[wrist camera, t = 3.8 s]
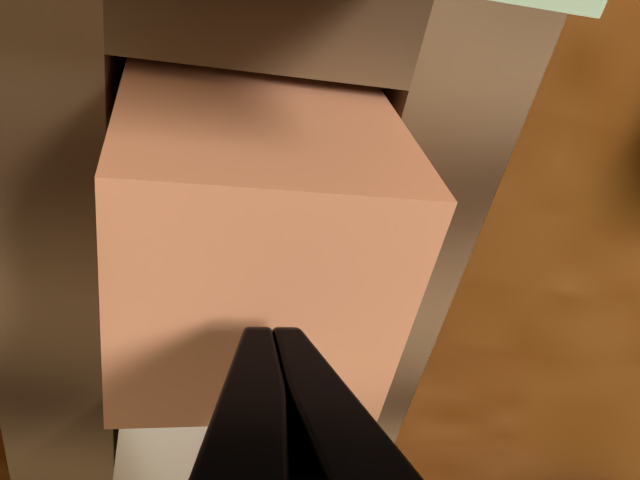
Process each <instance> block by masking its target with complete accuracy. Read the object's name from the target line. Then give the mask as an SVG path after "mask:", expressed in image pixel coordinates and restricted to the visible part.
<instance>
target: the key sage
mask: <svg viewBox="0 0 640 480" xmlns="http://www.w3.org/2000/svg"><path fill="white" fill-rule="evenodd" d="M490 1H496V2H502V3H508V4H514V5H520V6H526V7H532V8H538V9H544V10H550V11H556V12H562V13H568V14H574V15H580V16H586V17H592V18H598V19H600V17H601V14H602V12H603V10H604V7H605V5H606V3H607V0H490Z"/></svg>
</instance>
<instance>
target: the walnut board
mask: <svg viewBox="0 0 640 480" xmlns="http://www.w3.org/2000/svg"><path fill="white" fill-rule="evenodd" d="M567 16H568V13H562V12H556V11H550V10H544V9H538V8H532V7H526V6H520V5H514V4H508V3H502V2H496V1H490V0H0V428H1V433H2V438H3V443H4V449H5V454H6V459H7V464H8V470H9V475H10V480H113V474H114V465H115V457H116V449H117V441H118V432H119V429H104V418H103V391H102V364H101V337H100V310H99V283H98V256H97V229H96V202H95V173H96V170H97V166H98V162H99V159H100V155H101V151H102V148H103V144H104V140H105V137H106V133H107V129H108V126H109V122H110V118H111V115H112V111H113V107H114V104H115V100H116V96H117V93H118V89H119V56H122V57H130V58H138V59H147V60H155V61H163V62H172V63H180V64H189V65H197V66H205V67H214V68H222V69H230V70H239V71H247V72H256V73H264V74H272V75H281V76H289V77H297V78H306V79H314V80H323V81H331V82H339V83H348V84H356V85H365V86H373V87H380V89H381V90H382V92H383V93H384V95H385V96H386V97H387V99H388V100H389V102H390V103H391V105H392V106H393V108H394V109H395V111H396V112H397V114H398V115H399V117H400V118H401V120H402V121H403V123H404V124H405V126H406V127H407V129H408V130H409V131H410V133H411V134H412V136H413V137H414V139H415V140H416V142H417V143H418V145H419V146H420V148H421V149H422V151H423V152H424V154H425V155H426V157H427V158H428V160H429V161H430V162H431V164H432V165H433V167H434V168H435V170H436V171H437V173H438V174H439V176H440V177H441V179H442V180H443V182H444V183H445V185H446V186H447V188H448V189H449V191H450V192H451V193H452V195H453V196H454V198H455V199H456V201H457V202H458V203H457V206H456V208H455V211H454V214H453V217H452V219H451V222H450V225H449V228H448V230H447V233H446V236H445V238H444V241H443V244H442V247H441V249H440V252H439V255H438V258H437V260H436V263H435V266H434V268H433V271H432V274H431V277H430V279H429V282H428V285H427V288H426V290H425V293H424V296H423V298H422V301H421V304H420V307H419V309H418V312H417V315H416V318H415V320H414V323H413V326H412V328H411V331H410V334H409V337H408V339H407V342H406V345H405V348H404V350H403V353H402V356H401V358H400V361H399V364H398V367H397V369H396V372H395V375H394V378H393V380H392V383H391V386H390V388H389V391H388V394H387V397H386V399H385V402H384V405H383V407H382V410H381V413H380V416H379V418H378V421H377V423H378V424H379V425H380V427H381V428H382V429H383V430H384V431H385V433H386V434H387V435H388V436H389V438H390V439H391V440H392V441H393V443H395V441H396V438H397V436H398V433H399V431H400V428H401V426H402V423H403V421H404V418H405V416H406V413H407V411H408V409H409V406H410V404H411V401H412V399H413V396H414V394H415V391H416V389H417V386H418V384H419V381H420V379H421V376H422V374H423V371H424V369H425V367H426V364H427V362H428V359H429V357H430V354H431V352H432V349H433V347H434V344H435V342H436V339H437V337H438V334H439V332H440V329H441V327H442V325H443V322H444V320H445V317H446V315H447V312H448V310H449V307H450V305H451V302H452V300H453V297H454V295H455V292H456V290H457V288H458V285H459V283H460V280H461V278H462V275H463V273H464V270H465V268H466V265H467V263H468V260H469V258H470V255H471V253H472V250H473V248H474V246H475V243H476V241H477V238H478V236H479V233H480V231H481V228H482V226H483V223H484V221H485V218H486V216H487V213H488V211H489V208H490V206H491V204H492V201H493V199H494V196H495V194H496V191H497V189H498V186H499V184H500V181H501V179H502V176H503V174H504V171H505V169H506V167H507V164H508V162H509V159H510V157H511V154H512V152H513V149H514V147H515V144H516V142H517V139H518V137H519V134H520V132H521V129H522V127H523V125H524V122H525V120H526V117H527V115H528V112H529V110H530V107H531V105H532V102H533V100H534V97H535V95H536V92H537V90H538V87H539V85H540V83H541V80H542V78H543V75H544V73H545V70H546V68H547V65H548V63H549V60H550V58H551V55H552V53H553V50H554V48H555V46H556V43H557V41H558V38H559V36H560V33H561V31H562V28H563V26H564V23H565V21H566V18H567Z"/></svg>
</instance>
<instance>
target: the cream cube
mask: <svg viewBox="0 0 640 480" xmlns="http://www.w3.org/2000/svg"><path fill="white" fill-rule="evenodd" d="M207 428H208V426H206V427H171V428H136V429H119V432H118V441H117V449H116V457H115V465H114V474H113V480H188V479H189V476H190V474H191V471H192V468H193V466H194V463H195V460H196V457H197V455H198V452H199V449H200V447H201V444H202V441H203V438H204V436H205V433H206V430H207Z"/></svg>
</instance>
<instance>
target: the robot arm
mask: <svg viewBox="0 0 640 480" xmlns="http://www.w3.org/2000/svg"><path fill="white" fill-rule="evenodd" d="M188 480H424V479H423V478H422V477H421V476H420V474H419V473H418V472H417V471H416V469H415V468H414V467H413V466H412V465H411V463H410V462H409V461H408V460H407V458H406V457H405V456H404V455H403V454H402V452H401V451H400V450H399V449H398V447H397V446H396V445H395V444H394V443H393V441H392V440H391V439H390V438H389V436H388V435H387V434H386V433H385V431H384V430H383V429H382V428H381V427H380V425H379V424H378V423H377V422H376V420H375V419H374V418H373V417H372V416H371V414H370V413H369V412H368V411H367V409H366V408H365V407H364V406H363V405H362V403H361V402H360V401H359V400H358V398H357V397H356V396H355V395H354V394H353V392H352V391H351V390H350V389H349V387H348V386H347V385H346V384H345V383H344V381H343V380H342V379H341V378H340V376H339V375H338V374H337V373H336V371H335V370H334V369H333V368H332V367H331V365H330V364H329V363H328V362H327V360H326V359H325V358H324V357H323V356H322V354H321V353H320V352H319V351H318V349H317V348H316V347H315V346H314V345H313V343H312V342H311V341H310V340H309V338H308V337H307V336H306V335H305V334H304V332H303V331H302V330H301V329H299V328H297V327H275V328H274V329H273V330H272V329H271V328H270V327H253V326H248V327H246V328H245V329H244V330H243V333H242V335H241V338H240V341H239V343H238V346H237V349H236V352H235V354H234V357H233V360H232V362H231V365H230V368H229V371H228V373H227V376H226V379H225V381H224V384H223V387H222V390H221V392H220V395H219V398H218V400H217V403H216V406H215V409H214V411H213V414H212V417H211V419H210V422H209V425H208V428H207V430H206V433H205V436H204V438H203V441H202V444H201V447H200V449H199V452H198V455H197V457H196V460H195V463H194V466H193V468H192V471H191V474H190V476H189V479H188Z"/></svg>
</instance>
